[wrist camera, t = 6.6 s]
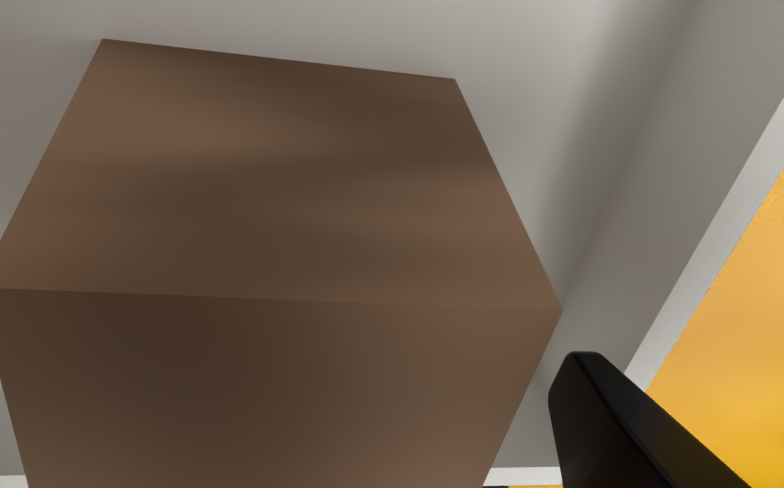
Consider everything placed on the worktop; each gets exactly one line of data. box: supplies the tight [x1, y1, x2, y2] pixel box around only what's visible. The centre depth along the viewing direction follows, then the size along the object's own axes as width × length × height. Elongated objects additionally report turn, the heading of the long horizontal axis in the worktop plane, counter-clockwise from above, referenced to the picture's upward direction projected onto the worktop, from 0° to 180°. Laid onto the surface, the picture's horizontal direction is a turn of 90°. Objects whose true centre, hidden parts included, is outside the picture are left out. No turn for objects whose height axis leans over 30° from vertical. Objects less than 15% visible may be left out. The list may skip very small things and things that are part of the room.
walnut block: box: [0, 38, 563, 488], centre depth 9 cm, size 5×5×5 cm
